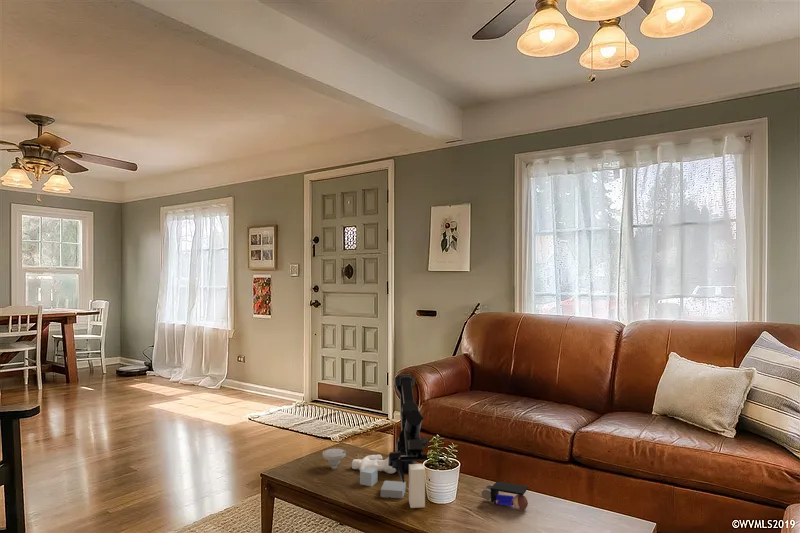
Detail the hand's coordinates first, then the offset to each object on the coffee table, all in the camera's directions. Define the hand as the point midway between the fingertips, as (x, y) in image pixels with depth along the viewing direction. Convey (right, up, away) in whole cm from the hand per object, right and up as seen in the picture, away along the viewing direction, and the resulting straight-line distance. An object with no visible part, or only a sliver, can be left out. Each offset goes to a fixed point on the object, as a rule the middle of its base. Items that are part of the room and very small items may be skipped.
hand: (416, 481), depth 173 cm
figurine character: (+30, -8, -1) cm, 32 cm away
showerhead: (-33, -9, +33) cm, 48 cm away
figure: (-16, -9, +30) cm, 35 cm away
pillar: (0, -8, 0) cm, 8 cm away
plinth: (-8, -9, +9) cm, 15 cm away
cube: (-18, -8, +18) cm, 27 cm away
